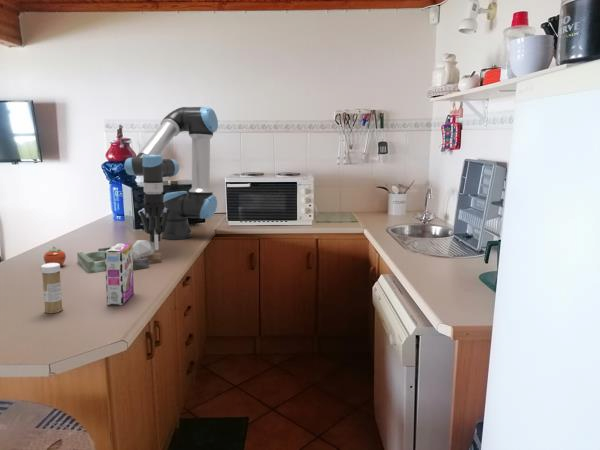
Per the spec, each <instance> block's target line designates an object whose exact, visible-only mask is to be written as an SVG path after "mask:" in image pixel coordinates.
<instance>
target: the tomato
mask: <svg viewBox="0 0 600 450" xmlns="http://www.w3.org/2000/svg"><path fill="white" fill-rule="evenodd" d="M66 260H67V254H66V252H65V251H63V250H62V249H60V248H57V247H56V246H54V245H53V246H52V248H50V249H49V250H48V251H46V252H45V253H44V255H43V261H44V264H47V263H58V264H60V268H61V267H62V266H64V264H65V262H66Z"/></svg>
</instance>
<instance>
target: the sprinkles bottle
mask: <svg viewBox="0 0 600 450" xmlns="http://www.w3.org/2000/svg"><path fill="white" fill-rule="evenodd" d="M40 270H41V274H42V289H43V300H44V312H45V313H46V314H57V313H60V312H61V311H63V310H64V307H63V294H62V293H63V292H62V281H61V267H60V264H58V263H47V264H46V263H43V264H42V265H41V266H40Z"/></svg>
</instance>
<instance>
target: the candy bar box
mask: <svg viewBox="0 0 600 450" xmlns="http://www.w3.org/2000/svg"><path fill="white" fill-rule="evenodd" d="M132 246H133V243H116V244H114V245H113V246H110V247H111V248H109V247H108V248H109V249H108V250H106V251H105V260H104V261H105V266H106V271H105V285H106V291H105V292H106V306H124V305H125V303H127V301H128V300H129V299H130V298H131V297H132V296H133V295H134V293H135V291H134V290H135V289H134V288H135V287H134V285H135V284H134V270H133V260H134V256H133V248H132Z"/></svg>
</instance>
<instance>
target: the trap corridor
mask: <svg viewBox="0 0 600 450" xmlns="http://www.w3.org/2000/svg"><path fill="white" fill-rule="evenodd" d="M111 247H112V246H109V247H102V248H98V249H97V251H92V252H83V251H82V252H77V253H76V255H77V263H78V265H80V267H82V268H83V269H84V270H85V271H86V272H87V273H88V274H92V273H98V272H106V266H105V251H106V250H108V249H109V248H111ZM157 263H158V264H159V263H162V253H160V252H159V253H153V254H151V255H144V256H140V259H139V260H135V259H133V271H135V270H142V269H149V267H150V265H152V264H157Z"/></svg>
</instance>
